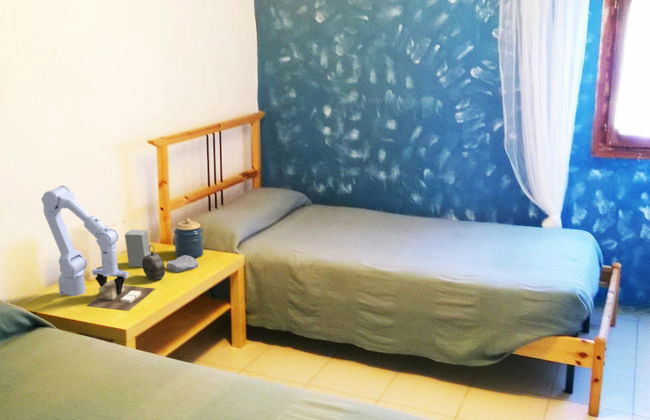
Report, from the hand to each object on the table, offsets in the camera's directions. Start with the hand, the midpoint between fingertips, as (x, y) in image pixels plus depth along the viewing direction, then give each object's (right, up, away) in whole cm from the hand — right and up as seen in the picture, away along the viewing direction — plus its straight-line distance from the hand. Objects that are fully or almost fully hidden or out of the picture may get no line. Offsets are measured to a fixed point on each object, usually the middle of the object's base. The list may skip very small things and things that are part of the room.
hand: (112, 293), depth 272 cm
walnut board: (+4, -3, 0) cm, 5 cm away
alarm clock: (+12, +2, +19) cm, 22 cm away
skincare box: (+1, +8, +37) cm, 38 cm away
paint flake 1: (+7, -2, -4) cm, 8 cm away
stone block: (+21, +7, +34) cm, 41 cm away
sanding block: (0, -1, 0) cm, 1 cm away
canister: (+21, +12, +50) cm, 56 cm away
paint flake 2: (+8, -1, +1) cm, 8 cm away
